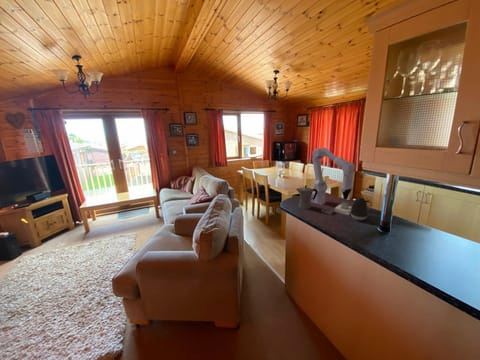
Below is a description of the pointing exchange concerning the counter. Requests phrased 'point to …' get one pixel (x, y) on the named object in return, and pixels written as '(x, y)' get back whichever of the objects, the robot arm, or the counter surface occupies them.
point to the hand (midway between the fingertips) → (345, 198)
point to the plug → (345, 205)
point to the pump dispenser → (359, 209)
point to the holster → (327, 211)
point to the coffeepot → (305, 197)
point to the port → (343, 210)
